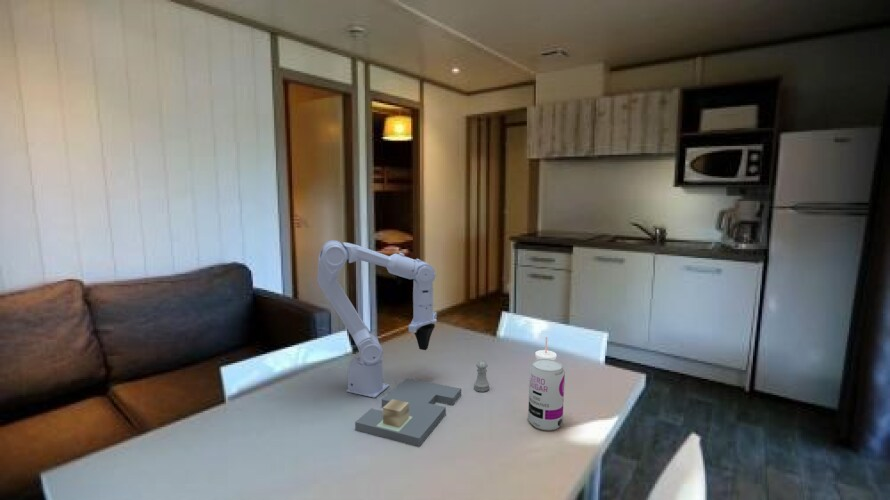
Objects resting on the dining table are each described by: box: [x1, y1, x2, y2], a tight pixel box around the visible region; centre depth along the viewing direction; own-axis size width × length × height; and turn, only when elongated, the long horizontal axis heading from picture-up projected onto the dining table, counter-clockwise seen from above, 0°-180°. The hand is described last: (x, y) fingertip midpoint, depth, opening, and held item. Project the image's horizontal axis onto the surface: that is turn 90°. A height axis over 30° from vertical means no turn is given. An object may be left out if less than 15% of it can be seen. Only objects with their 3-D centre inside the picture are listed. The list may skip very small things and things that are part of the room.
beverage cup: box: [534, 336, 557, 361], centre depth 126 cm, size 6×6×14 cm
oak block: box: [382, 399, 409, 428], centre depth 103 cm, size 4×4×4 cm
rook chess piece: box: [473, 360, 490, 393], centre depth 123 cm, size 4×4×8 cm
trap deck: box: [354, 377, 462, 447], centre depth 111 cm, size 17×26×2 cm, turn 157°
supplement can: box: [527, 359, 566, 432], centre depth 105 cm, size 8×8×15 cm
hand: (423, 349), depth 126 cm, fingers closed
